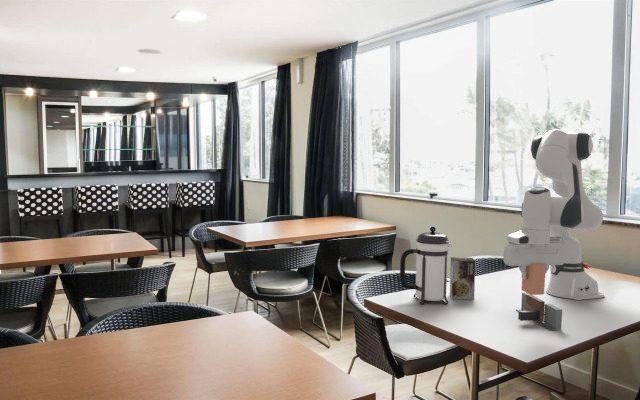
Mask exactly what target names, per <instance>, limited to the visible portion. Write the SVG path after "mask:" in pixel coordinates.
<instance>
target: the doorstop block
mask: <svg viewBox="0 0 640 400" xmlns="http://www.w3.org/2000/svg"><path fill="white" fill-rule="evenodd" d="M545 269H546V264H531V265H530V266H526V269H524V270H525V272H526V273H528V274H529V276H528V277H529V278H528V279H523V278H522V277H521V291H523V292H527V293H529V294H531V295H533V296H536V295H537V296H538V295H541V296H542V295H545V287H546V274H545Z"/></svg>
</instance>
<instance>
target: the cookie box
mask: <svg viewBox="0 0 640 400" xmlns="http://www.w3.org/2000/svg"><path fill="white" fill-rule="evenodd" d="M449 270H450V273H449V274H450V275H449V279H450V280H449V297H450V298H451V300H475V285H476V284H475V283H476V282H475V279H476V277H475V276H476V260H475V259H474V258H473V257H458V256H457V257H451V256H450V268H449Z"/></svg>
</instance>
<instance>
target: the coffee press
mask: <svg viewBox="0 0 640 400" xmlns="http://www.w3.org/2000/svg"><path fill="white" fill-rule="evenodd" d="M436 230H437V229H436V227H435V226H431V227H430V228H429V232H428V231H427V232H421V233H420V234H418V236H417V237H416V239H415V242H416V248H414V249H413V248H410V249H406V250H405V251H403V253H402V254H401V256H400V263H399V280H400V284H401V285H402V286H403V288H405V289H408V290H415V293H414V294H413V298H415V299H417V298H418V299H420V300H419V305H422V306H423V305H425V303H426V302H427V301H429V302H431V301H432V302H437V301H439V302H440V301H441V303H442V304H443V305H444V306H445V305H448V304H449V301H448V300H449V299H447V285H448V284H447V283H448V282H447V280H448V256H449V248H452V244H451V243H450V240H449V238H448V236H447V235H446V234H445V233H442V232H441V233H440V232H436ZM412 254H416V261H415V263H416V265H415V283H414V284H408V283H407V282H406V279H405V277H406V258H407V257H408V256H409V255H412Z"/></svg>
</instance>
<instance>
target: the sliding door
mask: <svg viewBox="0 0 640 400" xmlns="http://www.w3.org/2000/svg"><path fill="white" fill-rule="evenodd" d="M534 296H535V295H533V296H532V295H526V311H519V312H518V316H517V317H518V318H517V319H518V320H519V322H520V321H521V322H523V321H533V320H537V321H539V322H543V323H544V310H545V304H546V302H545V300H542V299H540V298H538V297H537V296H535V297H534ZM536 297H537V298H536Z"/></svg>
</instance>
